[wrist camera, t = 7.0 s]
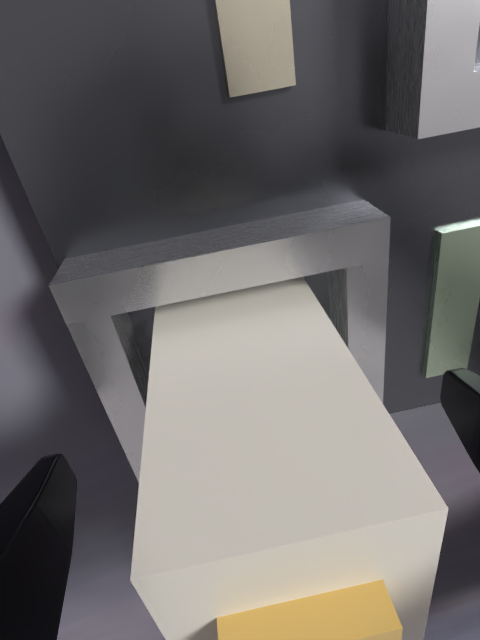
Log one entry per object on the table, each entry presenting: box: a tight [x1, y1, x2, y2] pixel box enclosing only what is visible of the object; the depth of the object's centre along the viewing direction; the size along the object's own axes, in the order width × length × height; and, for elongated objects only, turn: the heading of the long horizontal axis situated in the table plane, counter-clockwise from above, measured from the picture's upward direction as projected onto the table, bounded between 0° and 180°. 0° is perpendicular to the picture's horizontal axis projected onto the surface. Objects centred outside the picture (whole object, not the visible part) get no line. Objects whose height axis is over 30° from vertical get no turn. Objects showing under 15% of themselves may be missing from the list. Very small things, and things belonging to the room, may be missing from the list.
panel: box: [0, 0, 480, 483], centre depth 9 cm, size 18×16×3 cm
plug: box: [130, 277, 448, 640], centre depth 9 cm, size 4×4×8 cm
